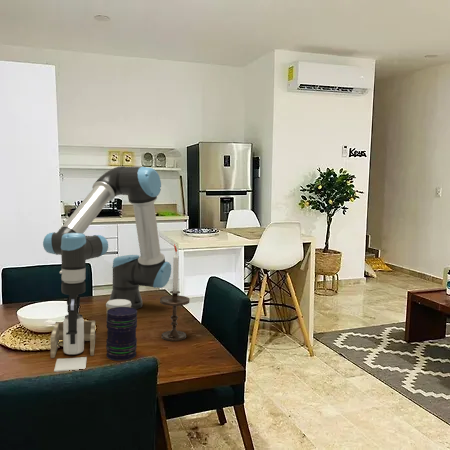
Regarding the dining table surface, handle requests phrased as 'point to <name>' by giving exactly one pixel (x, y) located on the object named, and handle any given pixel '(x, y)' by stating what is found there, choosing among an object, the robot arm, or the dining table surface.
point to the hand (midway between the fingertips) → (73, 348)
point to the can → (79, 335)
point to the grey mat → (70, 364)
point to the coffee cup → (117, 303)
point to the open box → (58, 335)
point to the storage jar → (121, 333)
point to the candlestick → (174, 304)
